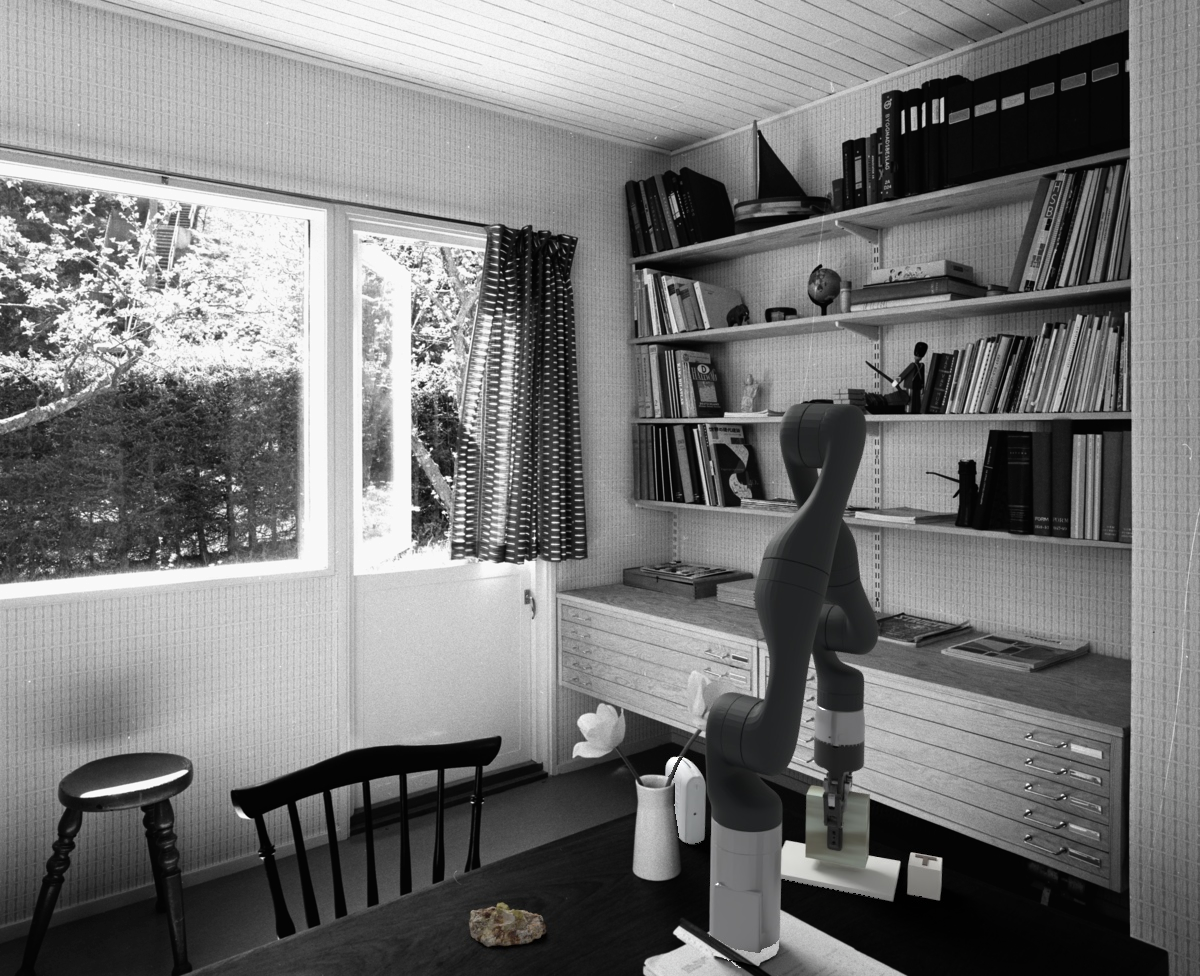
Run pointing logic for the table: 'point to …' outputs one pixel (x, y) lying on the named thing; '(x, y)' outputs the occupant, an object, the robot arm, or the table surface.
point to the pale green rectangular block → (853, 829)
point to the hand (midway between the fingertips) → (836, 842)
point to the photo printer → (688, 800)
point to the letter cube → (924, 876)
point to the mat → (840, 873)
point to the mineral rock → (505, 926)
